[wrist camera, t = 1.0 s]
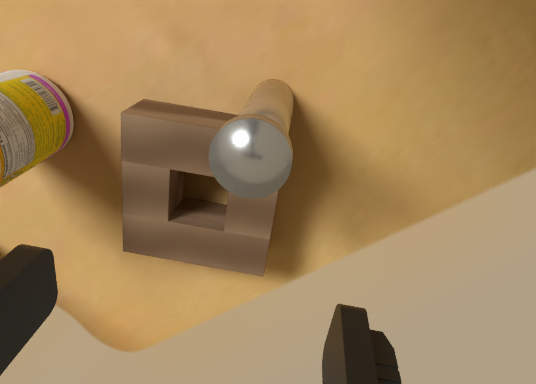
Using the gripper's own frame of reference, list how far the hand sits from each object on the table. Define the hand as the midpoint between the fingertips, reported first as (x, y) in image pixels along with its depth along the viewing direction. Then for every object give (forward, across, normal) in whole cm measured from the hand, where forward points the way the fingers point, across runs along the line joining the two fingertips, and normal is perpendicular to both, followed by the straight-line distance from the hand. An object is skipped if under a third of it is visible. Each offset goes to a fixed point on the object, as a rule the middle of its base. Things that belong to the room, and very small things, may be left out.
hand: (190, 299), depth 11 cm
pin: (+20, 0, -1) cm, 20 cm away
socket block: (+20, +4, +6) cm, 21 cm away
